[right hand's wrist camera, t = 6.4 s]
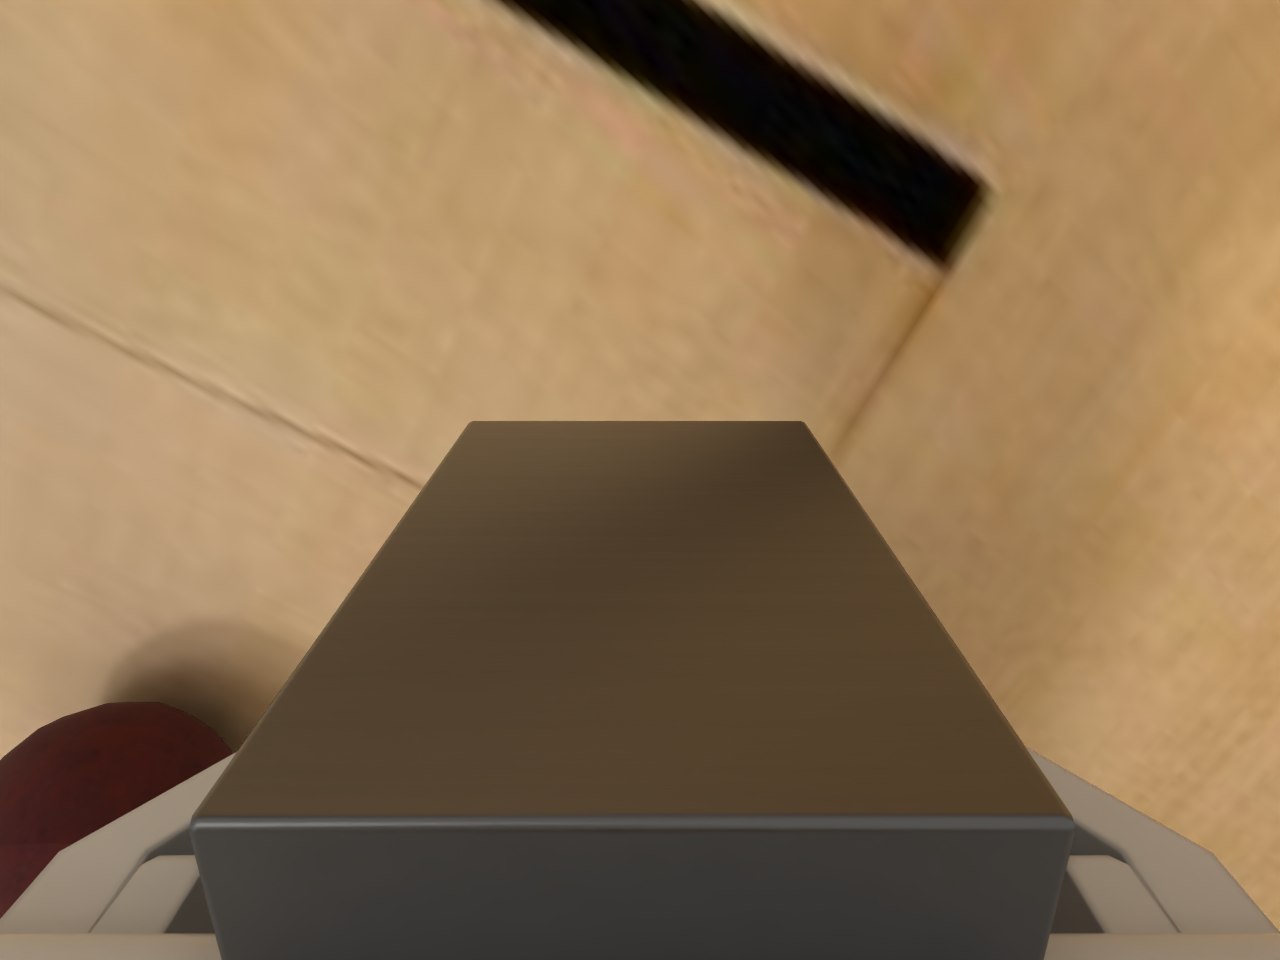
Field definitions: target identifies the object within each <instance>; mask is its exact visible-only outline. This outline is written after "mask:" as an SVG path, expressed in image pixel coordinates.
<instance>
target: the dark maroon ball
mask: <svg viewBox="0 0 1280 960" xmlns="http://www.w3.org/2000/svg"><path fill="white" fill-rule="evenodd" d="M232 754H233V753H232V751H231V749H230V748H229V747H228V746H227V745H226V744H225V742H224V741H223V740H222V739H221V738H220V737H219V736H218V735H217V734H216V733H215V732H214V731H213V730H212V729H211V728H210V727H208V726H207V725H205V724H204V723H203V722H201V721H200V720H198V719H197V718H195V717H193V716H191V715H189V714H187V713H185V712H183V711H180V710H178V709H175V708H173V707H170V706H168V705H165V704H162V703H160V702H121V703H108V704H103V705H100V706H97V707H94V708H90V709H87V710H84V711H81V712H77V713H74V714H71V715H68V716H64V717H62V718H60V719H58V720H56V721H54V722H52V723H50V724H47V725H45V726H43V727H41V728H39V729H38V730H36V731H35V732H34V733H33V734H31V735H30V736H29V737H28V738H26V739H25V740H24V741H23V742H21V743H20V744H19V745H18V746H16V747H15V748H14V749H13V750H11V751H10V752H9V753H8V754H6V755H5V756H4V757H3V758H2V759H1V760H0V919H1V918H2V917H3V915H4V914H5V913H6V912H7V911H8V910H9V909H10V907H11V906H12V905H13V904H14V903H15V902H16V900H17V899H18V898H19V897H20V896H21V895H22V894H23V892H24V891H25V890H26V889H27V888H28V887H29V886H30V884H31V883H32V882H33V881H34V880H35V879H36V878H37V876H38V875H39V874H40V873H41V872H42V871H43V870H44V868H45V867H46V866H47V865H48V864H49V863H50V861H51V860H52V859H53V858H54V857H55V856H56V855H57V853H58V852H59V851H61V850H63V849H65V848H67V847H68V846H70V845H72V844H74V843H75V842H77V841H79V840H81V839H83V838H84V837H86V836H88V835H90V834H91V833H93V832H95V831H97V830H99V829H100V828H102V827H104V826H106V825H107V824H109V823H111V822H113V821H115V820H116V819H118V818H120V817H122V816H123V815H125V814H127V813H129V812H131V811H132V810H134V809H136V808H138V807H140V806H141V805H143V804H145V803H147V802H148V801H150V800H152V799H154V798H156V797H157V796H159V795H161V794H163V793H164V792H166V791H168V790H170V789H172V788H173V787H175V786H177V785H179V784H180V783H182V782H184V781H186V780H188V779H189V778H191V777H193V776H195V775H196V774H198V773H200V772H202V771H204V770H205V769H207V768H209V767H211V766H212V765H214V764H216V763H218V762H220V761H221V760H223V759H225V758H227V757H228V756H230V755H232Z"/></svg>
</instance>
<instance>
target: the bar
mask: <svg viewBox="0 0 1280 960" xmlns="http://www.w3.org/2000/svg"><path fill="white" fill-rule="evenodd" d="M189 835H190V839H191V843H192V847H193V851H194V855H195V858H196V862H197V866H198V870H199V874H200V878H201V882H202V886H203V889H204V893H205V897H206V901H207V905H208V909H209V913H210V917H211V920H212V924H213V928H214V932H215V936H216V940H217V944H218V948H219V952H220V955H221V959H222V960H1044V956H1045V952H1046V948H1047V944H1048V940H1049V936H1050V932H1051V928H1052V924H1053V920H1054V916H1055V912H1056V908H1057V904H1058V900H1059V896H1060V892H1061V888H1062V884H1063V880H1064V876H1065V872H1066V868H1067V863H1068V859H1069V855H1070V851H1071V847H1072V843H1073V839H1074V835H1075V825H1074V821H1073V817H1072V815H1071V813H1070V812H1069V810H1068V809H1067V807H1066V806H1065V805H1064V803H1063V802H1062V800H1061V799H1060V797H1059V796H1058V794H1057V793H1056V791H1055V790H1054V788H1053V787H1052V785H1051V784H1050V782H1049V781H1048V780H1047V778H1046V777H1045V775H1044V774H1043V772H1042V771H1041V769H1040V768H1039V766H1038V765H1037V763H1036V762H1035V760H1034V759H1033V757H1032V756H1031V755H1030V753H1029V752H1028V750H1027V749H1026V747H1025V746H1024V744H1023V743H1022V741H1021V740H1020V738H1019V737H1018V735H1017V734H1016V732H1015V731H1014V730H1013V728H1012V727H1011V725H1010V724H1009V722H1008V721H1007V719H1006V718H1005V716H1004V715H1003V713H1002V712H1001V710H1000V709H999V707H998V706H997V705H996V703H995V702H994V700H993V699H992V697H991V696H990V694H989V693H988V691H987V690H986V688H985V687H984V685H983V684H982V683H981V681H980V680H979V678H978V677H977V675H976V674H975V672H974V671H973V669H972V668H971V666H970V665H969V663H968V662H967V660H966V659H965V658H964V656H963V655H962V653H961V652H960V650H959V649H958V647H957V646H956V644H955V643H954V641H953V640H952V638H951V637H950V635H949V634H948V633H947V631H946V630H945V628H944V627H943V625H942V624H941V622H940V621H939V619H938V618H937V616H936V615H935V613H934V612H933V610H932V609H931V608H930V606H929V605H928V603H927V602H926V600H925V599H924V597H923V596H922V594H921V593H920V591H919V590H918V588H917V587H916V585H915V584H914V583H913V581H912V580H911V578H910V577H909V575H908V574H907V572H906V571H905V569H904V568H903V566H902V565H901V563H900V562H899V561H898V559H897V558H896V556H895V555H894V553H893V552H892V550H891V549H890V547H889V546H888V544H887V543H886V541H885V540H884V538H883V537H882V536H881V534H880V533H879V531H878V530H877V528H876V527H875V525H874V524H873V522H872V521H871V519H870V518H869V516H868V515H867V513H866V512H865V511H864V509H863V508H862V506H861V505H860V503H859V502H858V500H857V499H856V497H855V496H854V494H853V493H852V491H851V490H850V488H849V487H848V486H847V484H846V483H845V481H844V480H843V478H842V477H841V475H840V474H839V472H838V471H837V469H836V468H835V466H834V465H833V463H832V462H831V461H830V459H829V458H828V456H827V455H826V453H825V452H824V450H823V449H822V447H821V446H820V444H819V443H818V441H817V440H816V438H815V437H814V436H813V434H812V433H811V431H810V430H809V428H808V427H807V425H806V424H805V423H804V422H802V421H473V422H470V423H469V424H468V425H467V427H466V428H465V430H464V431H463V432H462V434H461V435H460V437H459V438H458V439H457V441H456V442H455V444H454V445H453V447H452V448H451V449H450V451H449V452H448V454H447V455H446V457H445V458H444V459H443V461H442V462H441V464H440V465H439V466H438V468H437V469H436V471H435V472H434V474H433V475H432V476H431V478H430V479H429V481H428V482H427V483H426V485H425V486H424V488H423V489H422V491H421V492H420V493H419V495H418V496H417V498H416V499H415V500H414V502H413V503H412V505H411V506H410V508H409V509H408V510H407V512H406V513H405V515H404V516H403V517H402V519H401V520H400V522H399V523H398V525H397V526H396V527H395V529H394V530H393V532H392V533H391V534H390V536H389V537H388V539H387V540H386V542H385V543H384V544H383V546H382V547H381V549H380V550H379V551H378V553H377V554H376V556H375V557H374V559H373V560H372V561H371V563H370V564H369V566H368V567H367V568H366V570H365V571H364V573H363V574H362V576H361V577H360V578H359V580H358V581H357V583H356V584H355V585H354V587H353V588H352V590H351V591H350V593H349V594H348V595H347V597H346V598H345V600H344V601H343V602H342V604H341V605H340V607H339V608H338V610H337V611H336V612H335V614H334V615H333V617H332V618H331V619H330V621H329V622H328V624H327V625H326V627H325V628H324V629H323V631H322V632H321V634H320V635H319V636H318V638H317V639H316V641H315V642H314V644H313V645H312V646H311V648H310V649H309V651H308V652H307V654H306V655H305V656H304V658H303V659H302V661H301V662H300V663H299V665H298V666H297V668H296V669H295V671H294V672H293V673H292V675H291V676H290V678H289V679H288V680H287V682H286V683H285V685H284V686H283V688H282V689H281V690H280V692H279V693H278V695H277V696H276V697H275V699H274V700H273V702H272V703H271V705H270V706H269V707H268V709H267V710H266V712H265V713H264V714H263V716H262V717H261V719H260V720H259V722H258V723H257V724H256V726H255V727H254V729H253V730H252V731H251V733H250V734H249V736H248V737H247V739H246V740H245V741H244V743H243V744H242V746H241V747H240V748H239V750H238V751H237V753H236V754H235V756H234V757H233V758H232V760H231V761H230V763H229V764H228V765H227V767H226V768H225V770H224V771H223V773H222V774H221V775H220V777H219V778H218V780H217V781H216V782H215V784H214V785H213V787H212V788H211V790H210V791H209V792H208V794H207V795H206V797H205V798H204V799H203V801H202V802H201V804H200V805H199V807H198V808H197V809H196V811H195V812H194V814H193V815H192V818H191V822H190V826H189Z"/></svg>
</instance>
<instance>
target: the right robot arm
mask: <svg viewBox="0 0 1280 960" xmlns="http://www.w3.org/2000/svg"><path fill="white" fill-rule="evenodd" d="M1026 749H1027V750H1028V752H1029V753H1030V755H1031V756H1032V757H1033V759H1034V760H1035V762H1036V763H1037V765H1038V766H1039V768H1040V769H1041V771H1042V772H1043V774H1044V775H1045V777H1046V778H1047V780H1048V781H1049V782H1050V784H1051V785H1052V787H1053V788H1054V790H1055V791H1056V793H1057V794H1058V796H1059V797H1060V799H1061V800H1062V802H1063V803H1064V805H1065V806H1066V807H1067V809H1068V810H1069V812H1070V813H1071V815H1072V817H1073V821H1074V825H1075V835H1074V839H1073V843H1072V847H1071V851H1070V855H1069V859H1068V863H1067V868H1066V872H1065V876H1064V880H1063V884H1062V888H1061V892H1060V896H1059V900H1058V904H1057V908H1056V912H1055V916H1054V920H1053V924H1052V928H1051V932H1050V936H1049V940H1048V944H1047V948H1046V952H1045V956H1044V960H1280V932H1279V931H1278V930H1277V928H1276V927H1275V926H1274V925H1273V924H1272V923H1271V921H1270V920H1269V919H1268V918H1267V917H1266V915H1265V914H1264V913H1263V912H1262V911H1261V910H1260V908H1259V907H1258V906H1257V905H1256V904H1255V903H1254V901H1253V900H1252V899H1251V898H1250V897H1249V896H1248V894H1247V893H1246V892H1245V891H1244V890H1243V888H1242V887H1241V886H1240V885H1239V884H1238V883H1237V881H1236V880H1235V879H1234V878H1233V877H1232V876H1231V874H1230V873H1229V872H1228V871H1227V870H1226V868H1225V867H1224V866H1223V865H1222V864H1221V863H1220V861H1219V860H1218V859H1217V858H1216V857H1215V856H1214V854H1213V853H1211V852H1210V851H1208V850H1206V849H1204V848H1203V847H1201V846H1199V845H1197V844H1196V843H1194V842H1192V841H1190V840H1189V839H1187V838H1185V837H1183V836H1182V835H1180V834H1178V833H1176V832H1175V831H1173V830H1171V829H1169V828H1168V827H1166V826H1164V825H1162V824H1160V823H1159V822H1157V821H1155V820H1153V819H1152V818H1150V817H1148V816H1146V815H1145V814H1143V813H1141V812H1139V811H1138V810H1136V809H1134V808H1132V807H1131V806H1129V805H1127V804H1125V803H1124V802H1122V801H1120V800H1118V799H1117V798H1115V797H1113V796H1111V795H1110V794H1108V793H1106V792H1104V791H1103V790H1101V789H1099V788H1097V787H1096V786H1094V785H1092V784H1090V783H1089V782H1087V781H1085V780H1083V779H1081V778H1080V777H1078V776H1076V775H1074V774H1073V773H1071V772H1069V771H1067V770H1066V769H1064V768H1062V767H1060V766H1059V765H1057V764H1055V763H1053V762H1052V761H1050V760H1048V759H1046V758H1045V757H1043V756H1041V755H1039V754H1038V753H1036V752H1034V751H1032V750H1031V749H1029V748H1027V747H1026ZM236 753H237V752H236ZM236 753H234V754H232V755H230V756H228V757H227V758H225V759H223V760H221V761H220V762H218V763H216V764H214V765H212V766H211V767H209V768H207V769H205V770H204V771H202V772H200V773H198V774H196V775H195V776H193V777H191V778H189V779H188V780H186V781H184V782H182V783H180V784H179V785H177V786H175V787H173V788H172V789H170V790H168V791H166V792H164V793H163V794H161V795H159V796H157V797H156V798H154V799H152V800H150V801H148V802H147V803H145V804H143V805H141V806H140V807H138V808H136V809H134V810H132V811H131V812H129V813H127V814H125V815H123V816H122V817H120V818H118V819H116V820H115V821H113V822H111V823H109V824H107V825H106V826H104V827H102V828H100V829H99V830H97V831H95V832H93V833H91V834H90V835H88V836H86V837H84V838H83V839H81V840H79V841H77V842H75V843H74V844H72V845H70V846H68V847H67V848H65V849H63V850H61V851H59V852H58V853H57V855H56V856H55V857H54V858H53V859H52V860H51V861H50V863H49V864H48V865H47V866H46V867H45V868H44V870H43V871H42V872H41V873H40V874H39V875H38V876H37V878H36V879H35V880H34V881H33V882H32V883H31V884H30V886H29V887H28V888H27V889H26V890H25V891H24V892H23V894H22V895H21V896H20V897H19V898H18V899H17V900H16V902H15V903H14V904H13V905H12V906H11V907H10V909H9V910H8V911H7V912H6V913H5V914H4V915H3V917H2V918H1V919H0V960H222V959H221V955H220V952H219V948H218V944H217V940H216V936H215V932H214V928H213V924H212V920H211V917H210V913H209V909H208V905H207V901H206V897H205V893H204V889H203V886H202V882H201V878H200V874H199V870H198V866H197V862H196V858H195V855H194V851H193V847H192V843H191V839H190V835H189V826H190V822H191V818H192V815H193V814H194V812H195V811H196V809H197V808H198V807H199V805H200V804H201V802H202V801H203V799H204V798H205V797H206V795H207V794H208V792H209V791H210V790H211V788H212V787H213V785H214V784H215V782H216V781H217V780H218V778H219V777H220V775H221V774H222V773H223V771H224V770H225V768H226V767H227V765H228V764H229V763H230V761H231V760H232V758H233V757H234V756H235V754H236Z"/></svg>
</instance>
